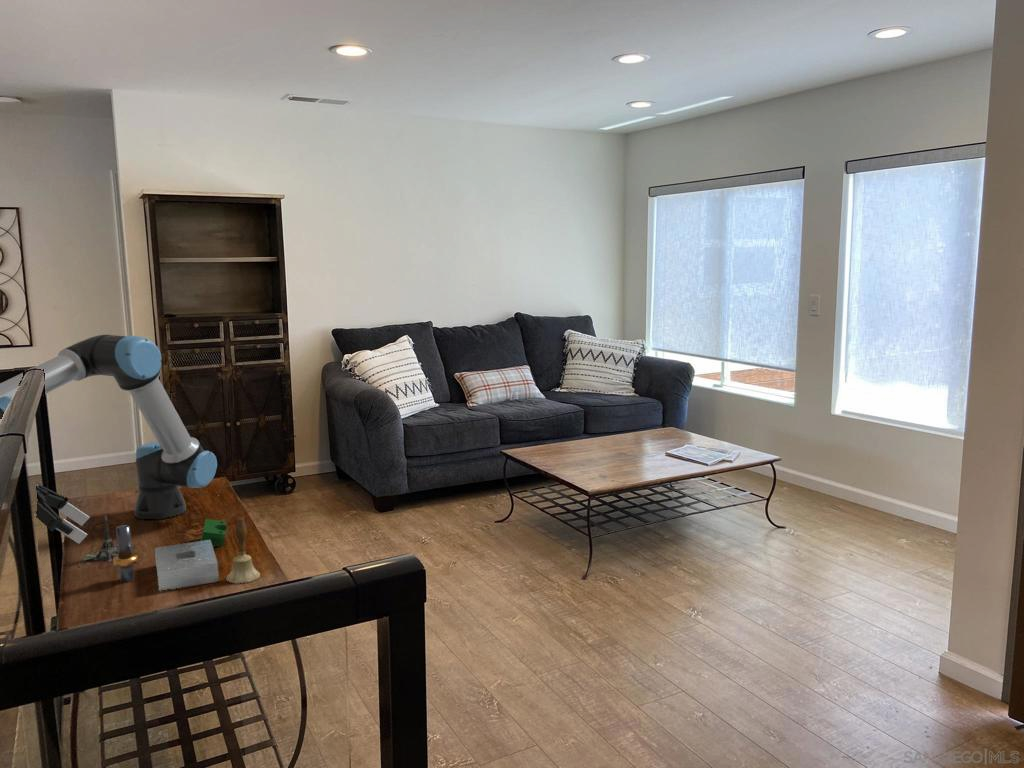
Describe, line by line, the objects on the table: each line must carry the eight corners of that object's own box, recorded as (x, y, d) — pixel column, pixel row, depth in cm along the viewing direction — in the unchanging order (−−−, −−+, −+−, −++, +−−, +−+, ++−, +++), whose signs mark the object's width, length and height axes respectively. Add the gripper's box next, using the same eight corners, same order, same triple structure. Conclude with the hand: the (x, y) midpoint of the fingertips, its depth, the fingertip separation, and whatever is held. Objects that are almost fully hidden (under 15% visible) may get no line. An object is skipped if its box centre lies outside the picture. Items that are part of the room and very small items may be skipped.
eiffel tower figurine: (138, 547, 223) (135, 502, 221) (140, 559, 215) (137, 513, 212) (79, 556, 216) (74, 510, 214) (78, 569, 208) (74, 522, 205)
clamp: (219, 562, 223) (224, 539, 219) (197, 559, 221) (202, 536, 217) (224, 533, 233) (229, 510, 229) (202, 530, 231) (207, 507, 227)
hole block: (156, 565, 209) (154, 547, 208) (211, 556, 215) (210, 539, 215) (159, 591, 193) (157, 572, 193) (218, 581, 200) (217, 562, 199)
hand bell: (231, 571, 206) (227, 513, 203) (263, 570, 207) (260, 512, 204) (222, 584, 198) (218, 524, 195) (255, 583, 198) (252, 523, 196)
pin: (115, 577, 201) (110, 525, 199) (139, 574, 204) (134, 521, 201) (115, 586, 196) (110, 532, 194) (139, 582, 199) (135, 528, 196)
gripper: (2, 477, 195) (76, 525, 204) (-14, 506, 172) (70, 559, 182) (25, 454, 196) (97, 503, 205) (12, 480, 174) (93, 534, 183)
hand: (84, 530), depth 193 cm, fingers open, 13 cm apart
